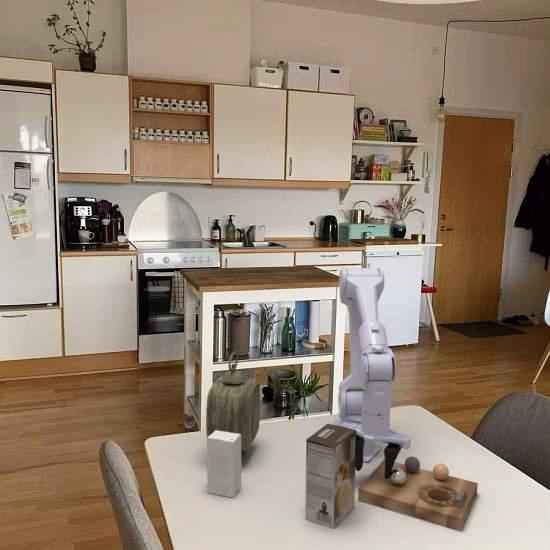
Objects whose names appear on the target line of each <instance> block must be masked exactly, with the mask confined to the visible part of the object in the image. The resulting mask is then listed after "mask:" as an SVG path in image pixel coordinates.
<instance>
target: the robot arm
mask: <svg viewBox="0 0 550 550" xmlns="http://www.w3.org/2000/svg"><path fill="white" fill-rule="evenodd" d="M338 280H339V281H338V282H339V283H338V285H339V287H338V288H339V299H340V303H341V304H343V305H345V306H346V307H347V311H348V320H349V321H348V322H349V323H348V325H349V363H350V364H349V365H350V366H349V367H350V368H349V369H350V370H349V371H350V374H349V375H348V376H347V377H345V378H344V379H343V380H341V381H340V383H339V386H338V395H337V396H338V397H337V398H338V400H337V402H338V403H337V405H338V413H337V414H336V415H335V418H334V421H333V424H332V425H337V426H342V427H346V428H350V429H354V430H357V431H356V461H355V472H360V471H361V470H362V468H363V467H364V466H363V465H364V462H365V463H369V462H371V460H372V459H373V458H374V457H375V456H376V455H377V454H378V452H379V451H380V450H381V449H380V447H378V446H375V441H376V442H380V443H383V444H387V445H386V446H385V448H384V449H383V453H384V459H385V473H384V477H385V479H389V477H390V473H391V471H392V469H393V465H394V462H396V460H397V457H398V456H399V453H400V452H401V450H402V449H403V450H409V449H410V447H411V446H412V445H411V444H412V437H411V436H407V435H404V434H402V433H400V432H398V431H394V430H392V429H390V423H391V422H390V420H391V419H390V417H391V403H392V402H391V399H392V398H391V397H392V382H394V381H395V379H396V375H397V374H396V373H397V364H396V363H397V362H396V357H395V354H394V353H393V351H392V349H391V348H390V347H389V342H388V337H387V332H386V328H385V326H384V324H383V323H381V322H379V320H380V319H379V309H378V307H379V305H378V302H379V301H380V298H381V296H382V294H383V291H384V288H385V273H384V270H383V269H382V268H381V267H377V268H376V267H365V268H364V267H360V268H359V267H342V268H341V269H340V271H339V278H338ZM391 381H392V382H391ZM354 388H355V389H354Z"/></svg>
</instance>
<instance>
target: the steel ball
mask: <svg viewBox="0 0 550 550" xmlns="http://www.w3.org/2000/svg"><path fill="white" fill-rule="evenodd" d="M390 479H391V481H392V482H393V483H394V484H396V485H401V484H403V483H404V482H405V480H406V474H405V472H404V471H403V470H402V469H399V468H396V469H393V470H392V471H391V473H390Z"/></svg>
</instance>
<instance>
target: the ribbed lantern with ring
mask: <svg viewBox="0 0 550 550" xmlns="http://www.w3.org/2000/svg"><path fill="white" fill-rule="evenodd" d="M234 356H236V359H235V363H232V360H233V357H234ZM238 363H239V353H238V351H237V350H234V351H232V352H231V353H230V356H229V359H228V371H226V373H224V375H222V376H220V377H218V379H217V380H215V382H214V383H213V384H212V386H211V387H210V388H209V390H208V391H207V392H208V393H207V397H206V410H205V411H206V415H205V416H206V417H205V425H206V426H205V429H206V431H205V432H206V433H205V434H206V438H207V437H209V436H210V435H211V434H212V433H213V432H214V431H215V430H217V431H224V432H230V433H237V434H241V458H245V457H246V456H247V451H246V450H245V449H248V448H249V447H250V446H251V445H252V444H253V442H254V441H255V438H256V436H257V434H258V432H259V430H260V421H261V420H260V419H261V387H260V386H261V385H260V383H259V382H257V381H256V380H254V379H253V378H245V376H244V375H243V373H242V372H241V371H238V370H237V367H238Z"/></svg>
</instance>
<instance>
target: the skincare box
mask: <svg viewBox="0 0 550 550" xmlns="http://www.w3.org/2000/svg"><path fill="white" fill-rule="evenodd" d="M206 449H207V450H206V453H207V454H206V456H207V457H206V459H207V460H206V461H207V463H206V464H207V466H206V467H207V471H206V472H207V493H208V494H213V495H217V496H222V497H228V498H235V497H236V496H237V495H238V493H239V492H240V491H241V489H242V457H241V434H237V433H230V432H224V431H217V430H215V431H214V432H213V433H212V434H211V435H210V436H209V437H207V436H206Z"/></svg>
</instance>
